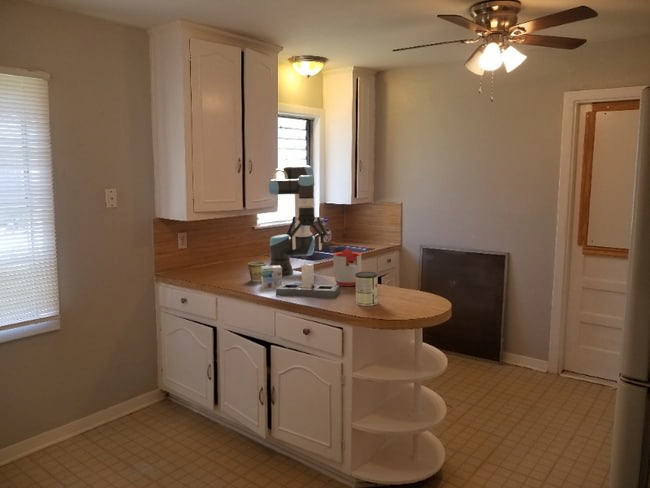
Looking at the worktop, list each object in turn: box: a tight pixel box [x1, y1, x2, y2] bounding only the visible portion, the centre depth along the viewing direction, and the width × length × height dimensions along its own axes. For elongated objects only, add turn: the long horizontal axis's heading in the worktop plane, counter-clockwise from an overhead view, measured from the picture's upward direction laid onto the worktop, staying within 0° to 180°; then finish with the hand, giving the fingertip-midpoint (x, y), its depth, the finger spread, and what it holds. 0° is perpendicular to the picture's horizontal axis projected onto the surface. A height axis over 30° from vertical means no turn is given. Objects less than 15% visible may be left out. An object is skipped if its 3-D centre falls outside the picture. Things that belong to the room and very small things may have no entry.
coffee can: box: [355, 271, 379, 307], centre depth 256 cm, size 10×10×14 cm
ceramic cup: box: [247, 261, 266, 283], centre depth 313 cm, size 13×10×10 cm
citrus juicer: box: [332, 248, 362, 287], centre depth 296 cm, size 16×17×20 cm
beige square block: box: [300, 263, 315, 289], centre depth 277 cm, size 5×5×15 cm
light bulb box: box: [260, 265, 283, 289], centre depth 296 cm, size 11×7×11 cm, turn 105°
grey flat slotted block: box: [275, 282, 341, 299], centre depth 278 cm, size 13×30×4 cm, turn 77°
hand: (307, 249), depth 275 cm, fingers open, 13 cm apart
